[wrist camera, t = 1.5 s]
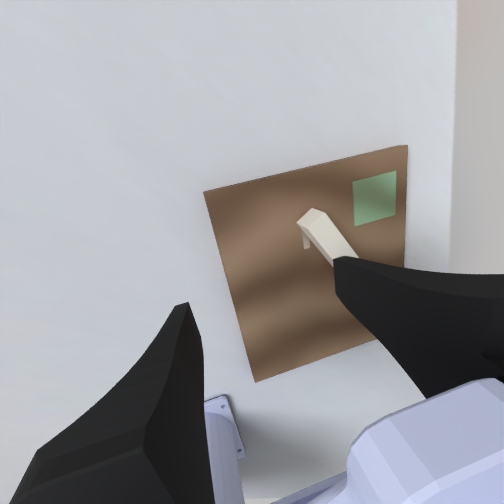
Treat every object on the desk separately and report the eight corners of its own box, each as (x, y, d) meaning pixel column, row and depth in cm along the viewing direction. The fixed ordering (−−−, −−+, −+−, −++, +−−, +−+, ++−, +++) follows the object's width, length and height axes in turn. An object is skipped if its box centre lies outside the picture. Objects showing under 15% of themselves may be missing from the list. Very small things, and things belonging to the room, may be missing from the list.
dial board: (394, 324, 27) (402, 330, 26) (252, 374, 25) (255, 383, 24) (397, 145, 20) (409, 144, 19) (203, 191, 18) (203, 193, 17)
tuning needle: (398, 307, 24) (425, 325, 22) (373, 329, 25) (397, 350, 22) (319, 200, 19) (342, 207, 16) (288, 229, 19) (305, 241, 16)
